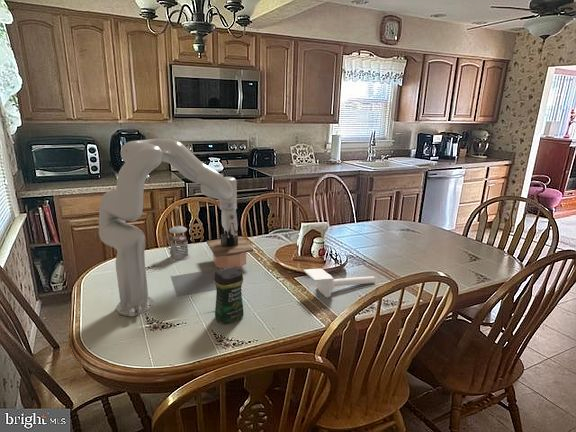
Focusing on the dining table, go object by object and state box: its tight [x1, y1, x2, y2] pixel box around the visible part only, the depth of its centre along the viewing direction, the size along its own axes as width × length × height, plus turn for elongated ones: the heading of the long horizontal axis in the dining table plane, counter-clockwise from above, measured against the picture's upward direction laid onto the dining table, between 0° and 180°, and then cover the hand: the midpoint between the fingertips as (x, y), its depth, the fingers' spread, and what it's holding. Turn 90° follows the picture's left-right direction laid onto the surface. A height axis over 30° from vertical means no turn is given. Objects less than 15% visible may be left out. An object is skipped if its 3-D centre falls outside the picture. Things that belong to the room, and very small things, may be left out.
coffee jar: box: [214, 266, 245, 325], centre depth 132 cm, size 10×8×19 cm
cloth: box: [206, 231, 254, 257], centre depth 173 cm, size 17×17×6 cm
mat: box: [170, 269, 217, 298], centre depth 157 cm, size 18×18×1 cm
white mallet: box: [303, 268, 376, 298], centre depth 155 cm, size 9×9×32 cm
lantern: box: [163, 206, 192, 262], centre depth 178 cm, size 10×12×25 cm
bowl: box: [212, 252, 247, 269], centre depth 176 cm, size 14×14×7 cm
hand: (229, 243), depth 174 cm, fingers closed on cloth, 3 cm apart
